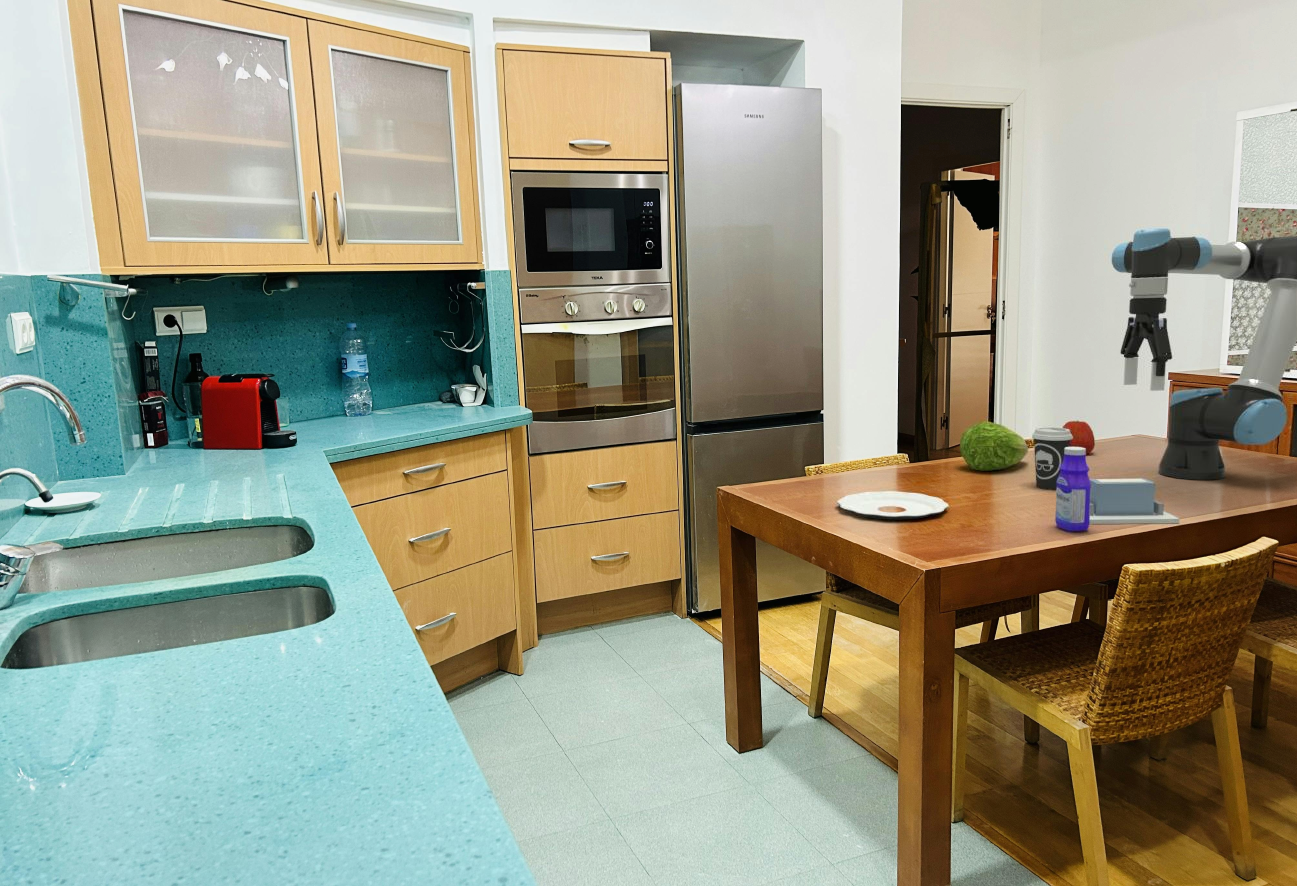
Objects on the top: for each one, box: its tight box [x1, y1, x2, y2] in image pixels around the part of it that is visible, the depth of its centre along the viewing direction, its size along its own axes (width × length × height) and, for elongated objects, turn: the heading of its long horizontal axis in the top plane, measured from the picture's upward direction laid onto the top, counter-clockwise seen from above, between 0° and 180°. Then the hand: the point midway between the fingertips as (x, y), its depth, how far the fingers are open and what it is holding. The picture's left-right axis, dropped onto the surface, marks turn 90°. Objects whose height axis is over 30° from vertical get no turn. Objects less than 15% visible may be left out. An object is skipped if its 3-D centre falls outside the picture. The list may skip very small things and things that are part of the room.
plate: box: [836, 490, 949, 521], centre depth 208 cm, size 25×25×2 cm
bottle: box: [1054, 447, 1091, 532], centre depth 185 cm, size 7×6×17 cm
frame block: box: [1089, 478, 1156, 515], centre depth 194 cm, size 12×5×7 cm, turn 85°
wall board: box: [1089, 499, 1180, 525], centre depth 195 cm, size 19×13×3 cm
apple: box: [1062, 419, 1096, 455], centre depth 269 cm, size 10×10×10 cm
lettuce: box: [959, 421, 1029, 472], centre depth 252 cm, size 14×24×15 cm
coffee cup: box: [1031, 426, 1073, 491], centre depth 225 cm, size 10×10×15 cm
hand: (1143, 387), depth 208 cm, fingers open, 13 cm apart
